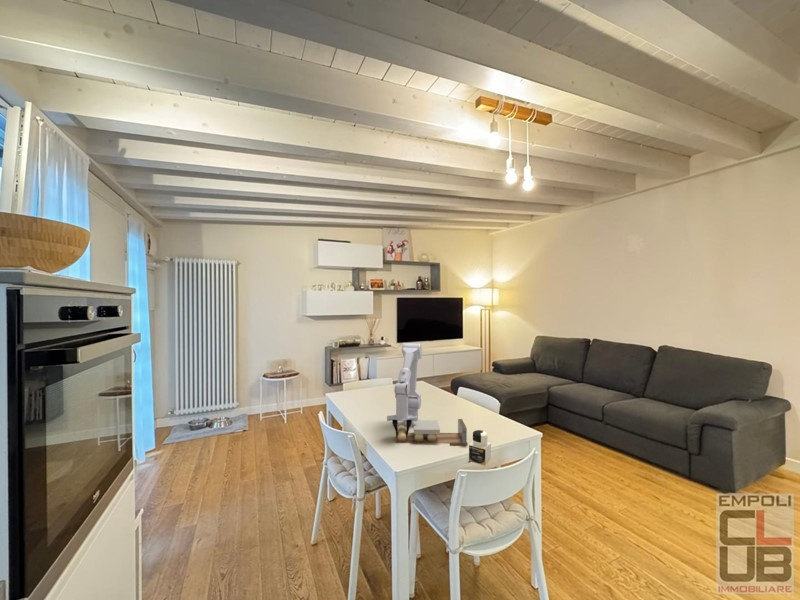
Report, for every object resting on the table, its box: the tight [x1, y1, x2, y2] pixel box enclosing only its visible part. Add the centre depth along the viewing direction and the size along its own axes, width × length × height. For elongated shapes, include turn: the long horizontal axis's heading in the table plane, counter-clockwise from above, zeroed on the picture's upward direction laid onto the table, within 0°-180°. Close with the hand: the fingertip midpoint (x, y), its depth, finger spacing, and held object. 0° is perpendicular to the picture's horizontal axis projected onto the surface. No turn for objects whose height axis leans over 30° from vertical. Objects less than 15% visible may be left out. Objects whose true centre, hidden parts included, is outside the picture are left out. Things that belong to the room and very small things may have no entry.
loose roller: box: [398, 424, 406, 442], centre depth 162 cm, size 10×4×4 cm, turn 0°
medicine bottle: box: [468, 429, 492, 466], centre depth 142 cm, size 7×7×12 cm
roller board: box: [395, 418, 469, 447], centre depth 162 cm, size 12×34×8 cm, turn 90°
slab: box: [412, 419, 441, 434], centre depth 162 cm, size 12×12×2 cm
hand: (401, 435), depth 162 cm, fingers closed on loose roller, 4 cm apart
